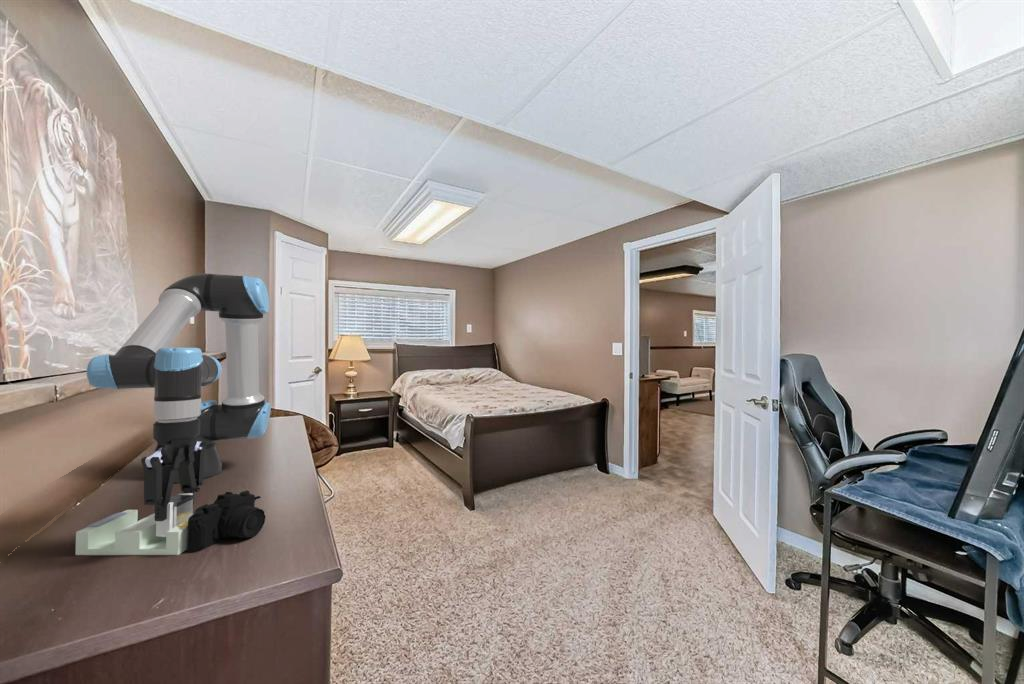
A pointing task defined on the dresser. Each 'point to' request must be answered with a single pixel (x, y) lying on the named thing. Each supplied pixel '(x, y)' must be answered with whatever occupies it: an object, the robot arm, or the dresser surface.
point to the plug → (181, 509)
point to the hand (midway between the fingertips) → (174, 528)
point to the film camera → (224, 520)
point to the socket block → (130, 537)
